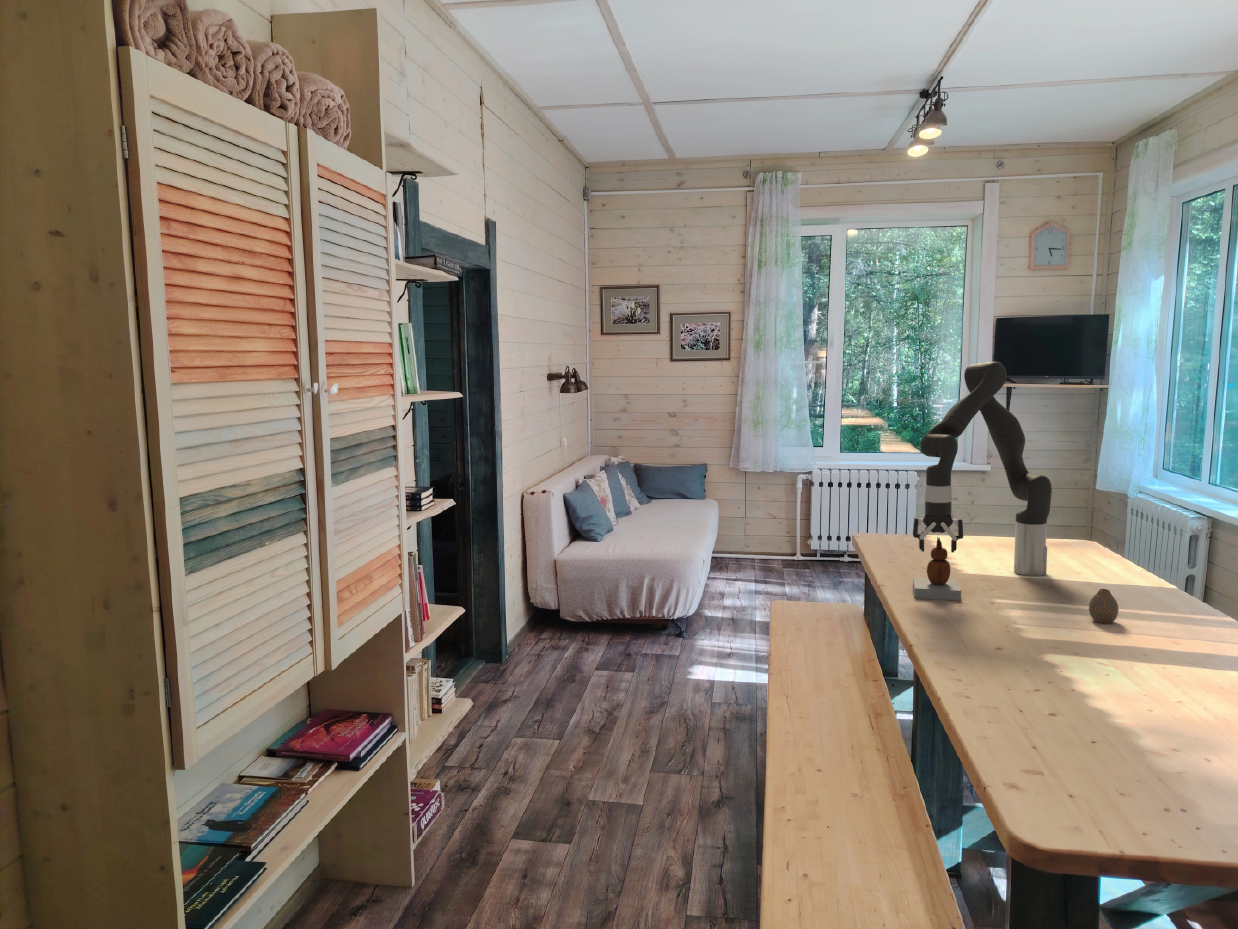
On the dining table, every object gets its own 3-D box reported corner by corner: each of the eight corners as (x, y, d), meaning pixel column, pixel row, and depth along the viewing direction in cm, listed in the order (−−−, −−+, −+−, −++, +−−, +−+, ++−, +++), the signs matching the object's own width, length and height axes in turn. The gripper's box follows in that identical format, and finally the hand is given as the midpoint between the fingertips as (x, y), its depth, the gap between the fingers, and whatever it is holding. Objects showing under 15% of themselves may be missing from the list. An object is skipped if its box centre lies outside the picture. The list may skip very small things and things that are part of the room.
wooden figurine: (938, 587, 245) (940, 538, 243) (923, 583, 250) (924, 535, 248) (953, 584, 248) (955, 536, 246) (937, 580, 253) (939, 533, 251)
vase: (1116, 619, 221) (1117, 587, 220) (1119, 626, 215) (1121, 594, 214) (1087, 616, 224) (1088, 585, 223) (1089, 623, 218) (1091, 592, 217)
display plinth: (956, 588, 254) (957, 579, 253) (960, 600, 241) (961, 590, 241) (912, 586, 257) (913, 577, 257) (914, 597, 245) (914, 588, 245)
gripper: (962, 497, 247) (961, 549, 249) (912, 497, 251) (912, 548, 253) (964, 502, 240) (963, 555, 242) (913, 501, 244) (913, 553, 246)
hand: (937, 551), depth 248 cm, fingers open, 8 cm apart
